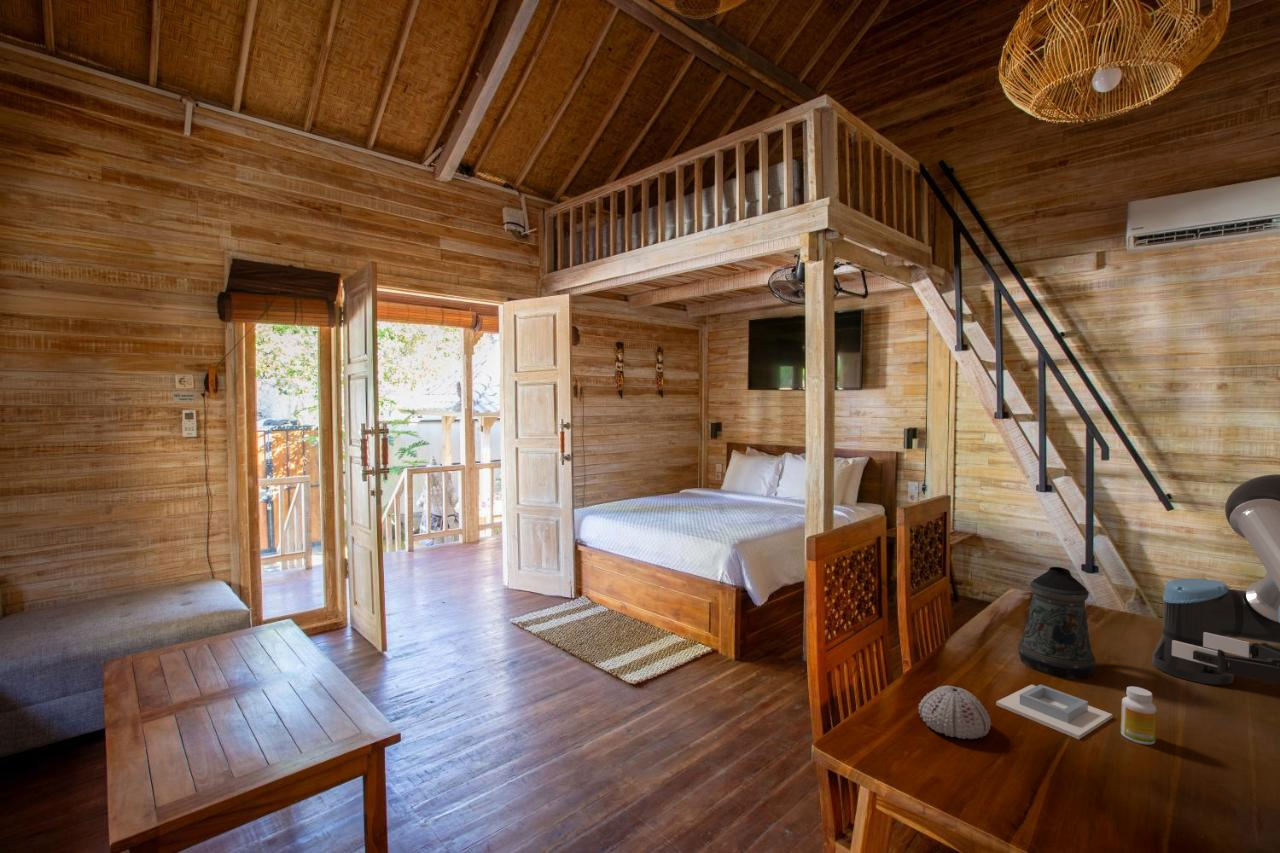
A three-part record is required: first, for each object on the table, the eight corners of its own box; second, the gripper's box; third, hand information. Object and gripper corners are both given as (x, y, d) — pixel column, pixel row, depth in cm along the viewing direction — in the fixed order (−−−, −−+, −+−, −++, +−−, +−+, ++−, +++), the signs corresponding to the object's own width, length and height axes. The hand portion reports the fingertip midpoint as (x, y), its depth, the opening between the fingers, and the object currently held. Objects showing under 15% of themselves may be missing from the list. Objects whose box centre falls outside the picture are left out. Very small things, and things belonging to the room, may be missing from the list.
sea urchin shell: (997, 751, 116) (998, 710, 115) (920, 737, 120) (921, 697, 120) (984, 717, 128) (985, 681, 128) (914, 706, 133) (915, 670, 132)
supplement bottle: (1161, 747, 117) (1163, 698, 117) (1130, 743, 118) (1132, 695, 118) (1144, 732, 123) (1146, 686, 122) (1114, 729, 124) (1116, 683, 123)
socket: (1031, 687, 142) (1031, 675, 142) (1112, 717, 128) (1112, 704, 128) (996, 705, 133) (996, 691, 133) (1078, 739, 120) (1079, 724, 120)
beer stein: (1036, 677, 148) (1040, 577, 147) (1001, 646, 167) (1004, 557, 166) (1110, 682, 145) (1114, 581, 144) (1066, 650, 164) (1070, 560, 163)
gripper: (1333, 723, 89) (1158, 672, 108) (1381, 696, 101) (1215, 654, 120) (1334, 673, 89) (1158, 630, 108) (1381, 652, 101) (1216, 617, 120)
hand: (1188, 643), depth 114 cm, fingers open, 13 cm apart
